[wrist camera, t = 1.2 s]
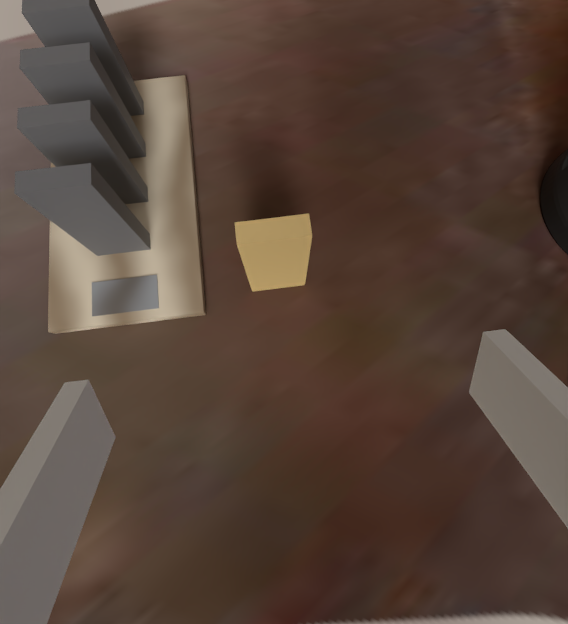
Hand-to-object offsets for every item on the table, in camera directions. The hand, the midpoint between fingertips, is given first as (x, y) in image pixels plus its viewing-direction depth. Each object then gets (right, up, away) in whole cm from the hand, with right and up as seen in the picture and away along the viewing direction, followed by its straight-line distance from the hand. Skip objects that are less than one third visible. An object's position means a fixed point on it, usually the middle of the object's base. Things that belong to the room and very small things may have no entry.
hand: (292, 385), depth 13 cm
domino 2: (-17, +19, +25) cm, 35 cm away
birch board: (-16, +14, +25) cm, 33 cm away
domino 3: (-16, +14, +24) cm, 32 cm away
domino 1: (-17, +23, +26) cm, 39 cm away
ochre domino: (-1, +6, +23) cm, 23 cm away
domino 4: (-15, +9, +23) cm, 29 cm away
